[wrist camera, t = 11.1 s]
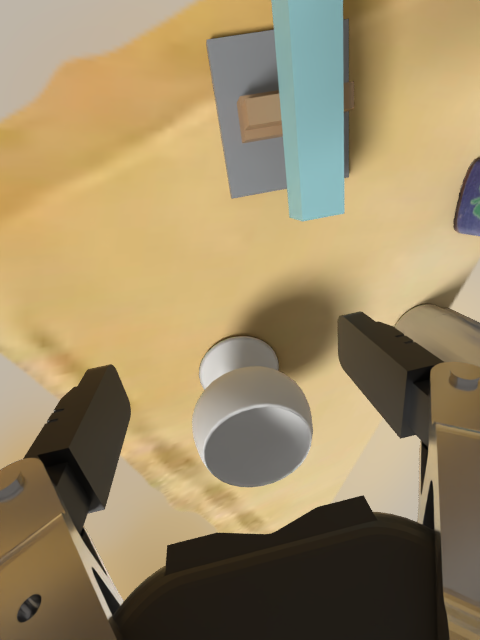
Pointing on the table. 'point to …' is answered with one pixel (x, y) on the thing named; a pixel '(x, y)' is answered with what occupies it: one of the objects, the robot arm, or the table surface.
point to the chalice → (249, 415)
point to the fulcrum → (257, 110)
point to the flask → (469, 202)
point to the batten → (311, 104)
